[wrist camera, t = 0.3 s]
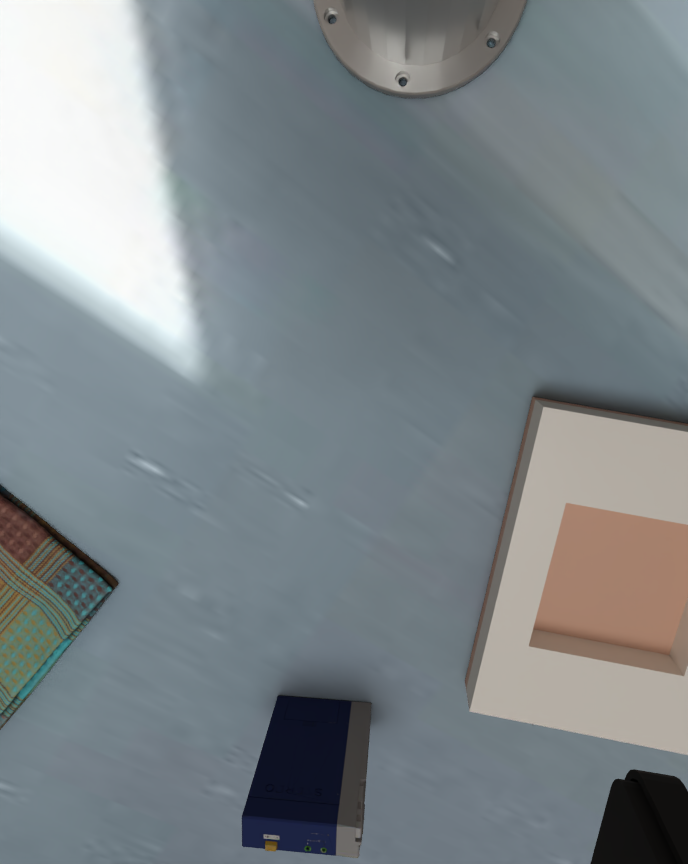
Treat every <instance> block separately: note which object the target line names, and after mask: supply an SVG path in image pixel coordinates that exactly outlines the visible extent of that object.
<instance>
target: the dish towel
mask: <svg viewBox="0 0 688 864" xmlns="http://www.w3.org/2000/svg"><path fill="white" fill-rule="evenodd" d="M117 585H118V582H117V581H116V580H115V579H114V578H113V577H112V576H110V575H109V574H108V573H107V572H106V571H105V570H103V569H102V568H101V567H100V566H99V565H97V564H96V563H95V562H94V561H93V560H91V559H90V558H89V557H88V556H87V555H85V553H83V552H82V551H80V550H79V549H78V548H77V547H76V546H75V545H73V544H71V543H70V542H69V541H67V540H66V539H65V538H64V537H63V536H61V535H60V534H59V533H58V532H57V531H56V530H55V529H53V528H52V527H51V526H50V525H49V524H47V523H46V522H45V521H44V520H43V519H41V518H40V517H39V516H38V515H36V514H35V513H34V512H33V511H32V510H31V509H30V508H28V507H27V506H26V505H25V504H24V503H22V502H21V501H20V500H18V499H17V498H16V497H15V496H13V495H12V494H11V493H10V492H8V491H7V490H6V489H5V488H4V487H2V486H1V485H0V729H1V728H2V727H3V726H4V725H5V723H6V722H7V721H8V720H9V719H10V717H11V716H12V715H13V714H14V713H15V711H16V710H17V709H18V708H19V707H20V706H21V705H22V703H23V702H24V701H25V700H26V699H27V698H28V696H29V695H30V694H31V693H32V692H33V690H34V689H35V688H36V687H37V685H38V684H39V683H40V682H41V681H42V679H43V678H44V677H45V676H46V674H47V673H48V672H49V671H50V669H51V668H52V667H53V665H54V664H55V663H56V661H57V660H58V659H59V657H60V656H61V655H62V654H63V653H64V651H65V650H66V649H67V648H68V647H69V645H70V644H71V643H72V642H73V640H74V639H75V638H76V637H77V636H78V634H79V633H80V632H81V631H82V629H83V628H84V627H85V626H86V625H87V624H88V622H89V621H90V620H91V618H92V617H93V616H94V614H95V613H96V612H97V611H98V609H99V608H100V607H101V605H102V604H103V603H104V601H105V600H106V599H107V598H108V597H109V596H110V594H111V593H112V591H113V590H114V589H115V588H116V586H117Z"/></svg>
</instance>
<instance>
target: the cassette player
mask: <svg viewBox="0 0 688 864" xmlns="http://www.w3.org/2000/svg"><path fill="white" fill-rule="evenodd" d="M370 720H371V703H367V702H354V701H343V700H328V699H315V698H303V697H290V696H278V697H277V701H276V704H275V707H274V711H273V714H272V717H271V721H270V724H269V728H268V731H267V734H266V738H265V741H264V744H263V748H262V751H261V754H260V758H259V761H258V764H257V768H256V771H255V774H254V778H253V781H252V785H251V788H250V791H249V795H248V798H247V802H246V805H245V808H244V811H243V815H242V846H243V847H253V848H263V849H265V850H267V851H276V850H284V851H294V852H304V853H315V854H325V855H335V856H343V857H352V858H358V856H359V852H360V845H361V841H362V834H363V823H364V809H365V804H364V801H365V788H366V774H367V761H368V747H369V734H370Z"/></svg>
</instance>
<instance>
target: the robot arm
mask: <svg viewBox="0 0 688 864" xmlns="http://www.w3.org/2000/svg"><path fill="white" fill-rule="evenodd" d="M526 3H527V0H314V7H315V10H316V14H317V18H318V21H319V24H320V27H321V29H322V32H323V34H324V37H325V39H326V42H327V43H328V45H329V47H330V48H331V50H332V51H333V53H334V55H335V56H336V58H337V59H338V61H339V62H340V63H341V64H342V65H343V66H344V67H345V68H346V69H347V70H348V71H349V72H350V73H351V74H352V75H353V76H354V77H356V78H357V79H358V80H360V81H361V82H363V83H364V84H365V85H367V86H368V87H371V88H373V89H375V90H377V91H380V92H382V93H384V94H387V95H392V96H397V97H401V98H428V97H433V96H438V95H443V94H446V93H448V92H451V91H453V90H455V89H458V88H460V87H462V86H464V85H466V84H467V83H469V82H470V81H472V80H473V79H475V78H476V77H478V76H479V75H481V74H482V73H483V72H484V71H485V70H486V69H487V68H488V67H489V66H490V65H491V64H492V63H493V62H494V61H495V60H496V59H497V58H498V57H499V55H500V54H501V52H502V51H503V50H504V48H505V47H506V46H507V44H508V43H509V41H510V40H511V38H512V36H513V34H514V32H515V30H516V28H517V26H518V24H519V22H520V19H521V16H522V14H523V11H524V8H525V6H526ZM331 17H334V18H336V19H337V20H336V22H335V23H334V24H329V22H328V21H329V19H330V18H331ZM488 41H493V42H494V43H495V46H494V47H493V48H489V47H488V46H487V42H488ZM401 79H405V80H406V81H407V84H406V85H405V86H403V87H402V86H400V85H399V84H398V83H399V81H400V80H401ZM591 864H688V791H687V789H686V788H685V786H684V784H683V783H682V782H681V780H680V779H678V778H677V777H675V776H670V775H664V774H658V773H652V772H646V771H640V770H630V771H629V772H628V773H627V775H626V778H625V780H622V779H615V780H614V782H613V783H612V786H611V789H610V793H609V797H608V801H607V804H606V808H605V812H604V816H603V819H602V823H601V827H600V831H599V834H598V838H597V842H596V846H595V849H594V853H593V857H592V861H591Z"/></svg>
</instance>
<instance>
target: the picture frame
mask: <svg viewBox="0 0 688 864" xmlns="http://www.w3.org/2000/svg"><path fill="white" fill-rule="evenodd" d="M465 685H466V692H467V698H468V705H469V711H470V712H475V713H480V714H485V715H490V716H495V717H500V718H505V719H510V720H515V721H520V722H525V723H530V724H535V725H540V726H545V727H550V728H555V729H560V730H565V731H570V732H575V733H581V734H586V735H591V736H596V737H601V738H606V739H611V740H616V741H621V742H626V743H631V744H636V745H641V746H646V747H651V748H656V749H661V750H666V751H671V752H676V753H681V754H686V755H688V424H686V423H680V422H675V421H669V420H663V419H657V418H652V417H646V416H640V415H634V414H629V413H623V412H617V411H612V410H606V409H600V408H594V407H589V406H583V405H577V404H571V403H566V402H560V401H554V400H548V399H543V398H537V397H532V401H531V405H530V409H529V414H528V418H527V422H526V426H525V430H524V435H523V439H522V443H521V447H520V451H519V456H518V460H517V464H516V468H515V472H514V477H513V481H512V485H511V489H510V493H509V498H508V502H507V506H506V510H505V514H504V519H503V523H502V527H501V531H500V535H499V540H498V544H497V548H496V552H495V557H494V561H493V565H492V569H491V573H490V578H489V582H488V586H487V590H486V594H485V599H484V603H483V607H482V611H481V615H480V620H479V624H478V628H477V632H476V636H475V641H474V645H473V649H472V653H471V657H470V662H469V666H468V670H467V674H466V679H465Z"/></svg>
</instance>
